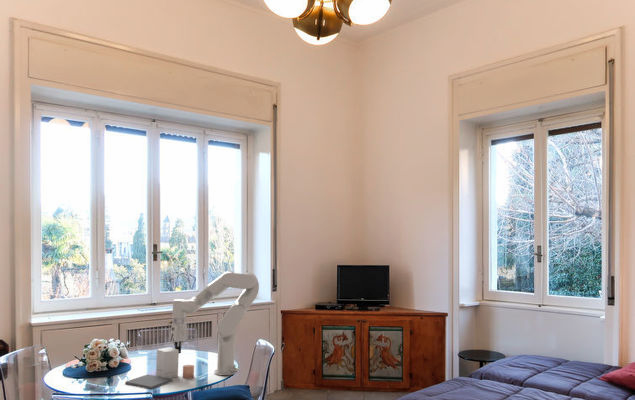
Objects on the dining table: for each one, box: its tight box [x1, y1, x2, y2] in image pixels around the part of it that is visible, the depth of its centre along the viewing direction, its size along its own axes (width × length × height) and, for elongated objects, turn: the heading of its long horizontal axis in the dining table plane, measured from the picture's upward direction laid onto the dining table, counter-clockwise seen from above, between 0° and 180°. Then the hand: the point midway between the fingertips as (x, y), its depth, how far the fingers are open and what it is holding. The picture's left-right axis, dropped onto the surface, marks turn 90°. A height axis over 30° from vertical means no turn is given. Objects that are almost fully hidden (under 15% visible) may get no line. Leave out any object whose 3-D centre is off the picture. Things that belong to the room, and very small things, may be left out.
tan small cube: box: [182, 364, 195, 380], centre depth 291 cm, size 6×6×6 cm
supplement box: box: [155, 346, 180, 379], centre depth 292 cm, size 9×9×15 cm
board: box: [125, 373, 173, 390], centre depth 279 cm, size 18×16×1 cm
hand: (177, 353), depth 300 cm, fingers closed
